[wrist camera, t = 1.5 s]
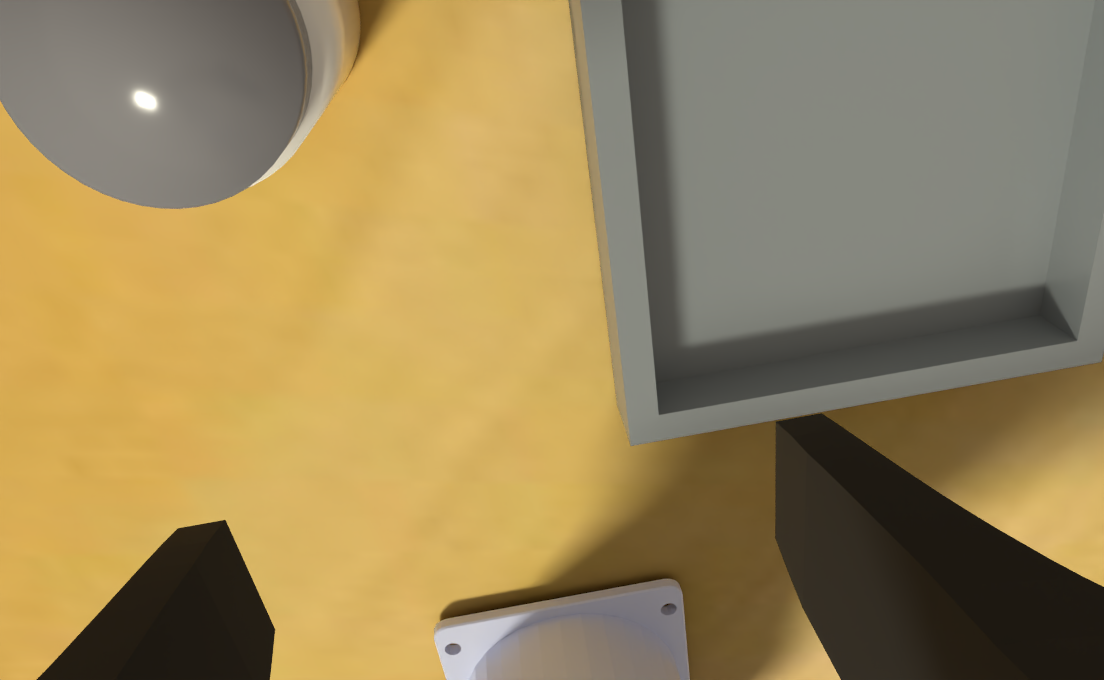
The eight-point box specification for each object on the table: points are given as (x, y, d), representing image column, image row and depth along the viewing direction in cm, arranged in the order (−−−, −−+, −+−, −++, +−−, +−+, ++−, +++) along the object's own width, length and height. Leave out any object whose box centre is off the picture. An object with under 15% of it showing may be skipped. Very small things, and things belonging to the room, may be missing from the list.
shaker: (382, 104, 18) (347, 191, 12) (183, 137, 18) (54, 240, 12) (328, -125, 16) (254, -150, 10) (101, -89, 16) (-103, -94, 10)
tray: (1051, 327, 23) (1101, 362, 21) (616, 404, 22) (630, 445, 21) (1148, -200, 17) (1229, -214, 15) (555, -106, 16) (567, -108, 15)
